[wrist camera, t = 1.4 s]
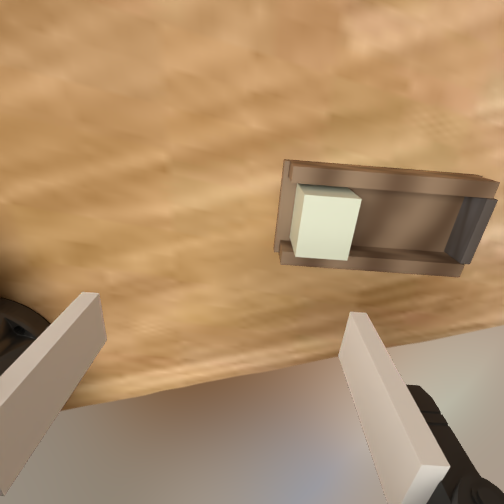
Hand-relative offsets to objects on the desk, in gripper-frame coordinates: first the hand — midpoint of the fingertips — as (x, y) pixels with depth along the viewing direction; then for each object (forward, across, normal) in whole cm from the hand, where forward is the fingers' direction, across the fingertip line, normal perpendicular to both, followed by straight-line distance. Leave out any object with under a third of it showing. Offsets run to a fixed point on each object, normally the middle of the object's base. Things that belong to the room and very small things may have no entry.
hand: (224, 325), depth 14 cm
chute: (+20, -14, 0) cm, 25 cm away
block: (+19, -8, 0) cm, 21 cm away
